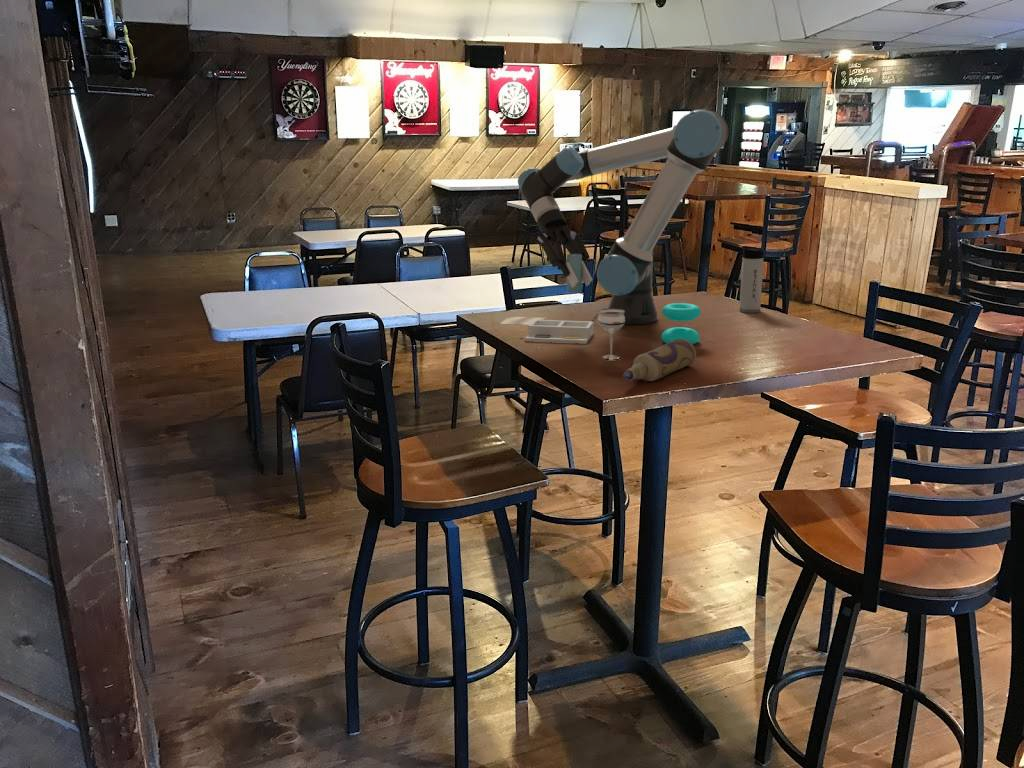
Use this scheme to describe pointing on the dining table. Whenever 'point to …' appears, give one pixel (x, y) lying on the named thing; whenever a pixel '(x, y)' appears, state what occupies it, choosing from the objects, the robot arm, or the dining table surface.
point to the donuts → (681, 314)
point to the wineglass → (611, 325)
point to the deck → (520, 320)
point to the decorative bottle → (661, 361)
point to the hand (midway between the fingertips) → (582, 283)
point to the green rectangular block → (575, 271)
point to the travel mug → (751, 279)
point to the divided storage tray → (560, 331)
